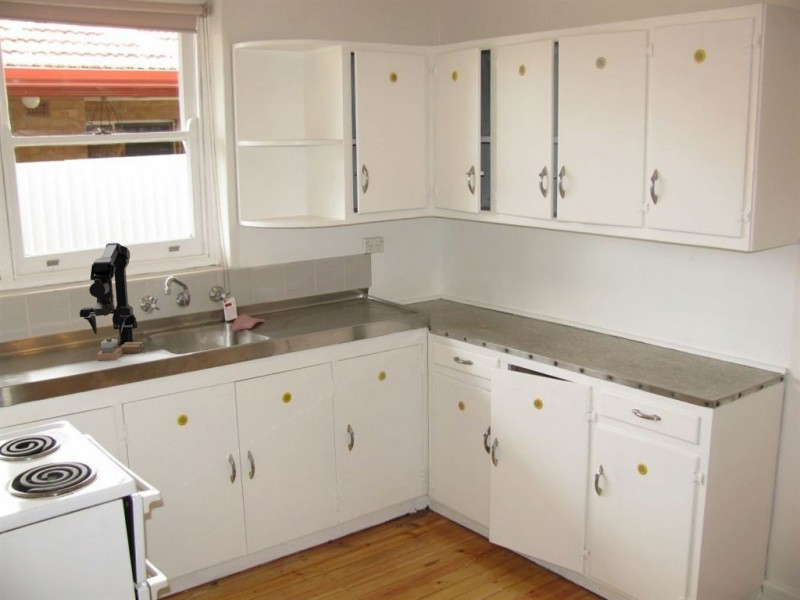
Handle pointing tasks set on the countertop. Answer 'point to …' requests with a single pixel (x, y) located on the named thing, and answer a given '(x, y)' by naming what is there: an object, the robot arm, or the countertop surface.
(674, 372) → the countertop surface
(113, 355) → the stand
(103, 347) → the housing
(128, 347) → the stand
